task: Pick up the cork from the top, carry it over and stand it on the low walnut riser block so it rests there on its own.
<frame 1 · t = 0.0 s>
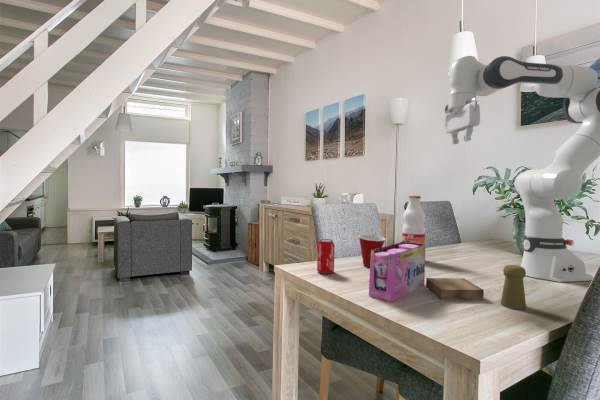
hand: (461, 142, 125), 48 cm above the table, tool pointing down, fingers open, 8 cm apart
soda can: (325, 273, 128), on the table
walnut block: (453, 293, 104), on the table
plastic cup: (371, 266, 138), on the table
gum box: (398, 291, 107), on the table
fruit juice: (413, 261, 149), on the table
cork: (513, 306, 94), on the table
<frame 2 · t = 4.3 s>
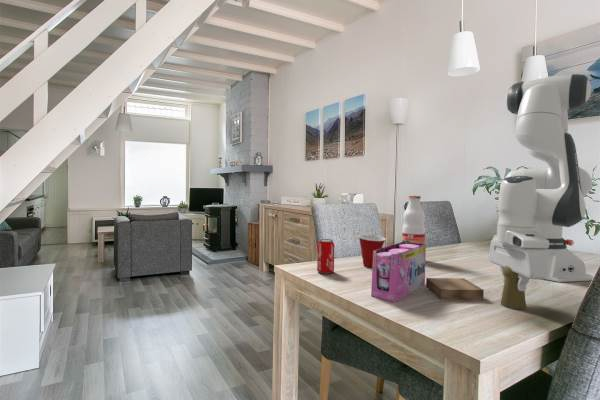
hand: (513, 287, 94), 5 cm above the table, tool pointing down, fingers closed on cork, 4 cm apart
cork: (513, 306, 94), on the table, touching gripper
everything else where it was.
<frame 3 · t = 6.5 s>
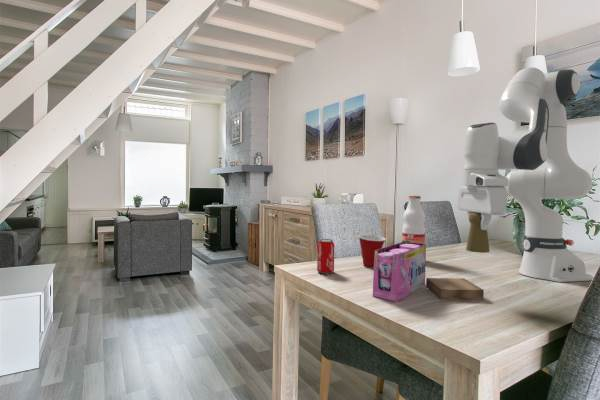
hand: (478, 228, 99), 20 cm above the table, tool pointing down, fingers closed on cork, 4 cm apart
cork: (477, 251, 99), point 14 cm above the table, touching gripper
everything else where it was.
when the fingers open (10 cm above the table, at t = 8.9 s): cork stays where it is, resting on walnut block.
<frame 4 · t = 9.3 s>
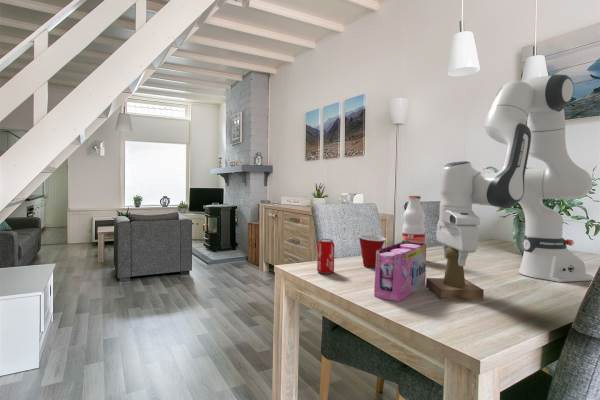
hand: (454, 261, 104), 10 cm above the table, tool pointing down, fingers open, 8 cm apart
cork: (454, 284, 104), point 3 cm above the table, touching walnut block
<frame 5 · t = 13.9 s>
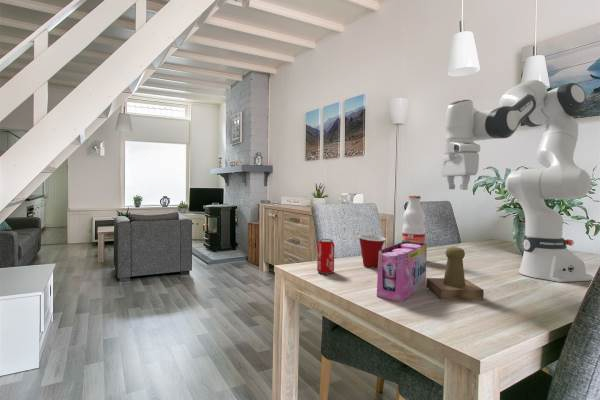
hand: (457, 189, 118), 31 cm above the table, tool pointing down, fingers open, 8 cm apart
at the end: cork inside the target area on the walnut block (0.5 cm from its centre), point 2.8 cm above the walnut block's base; cork tilted 0°; the gripper is holding nothing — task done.
